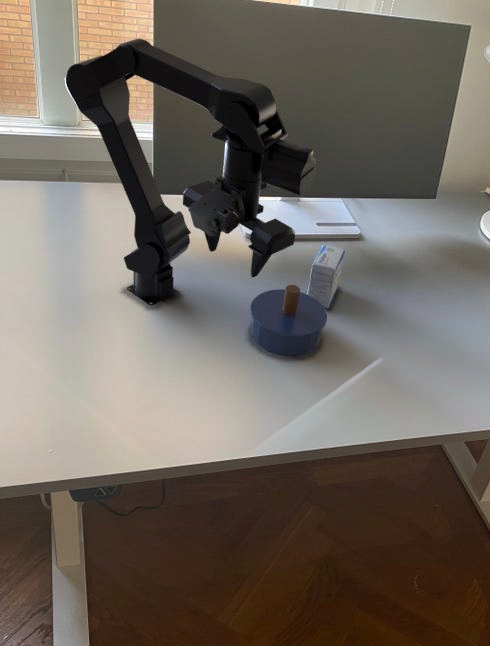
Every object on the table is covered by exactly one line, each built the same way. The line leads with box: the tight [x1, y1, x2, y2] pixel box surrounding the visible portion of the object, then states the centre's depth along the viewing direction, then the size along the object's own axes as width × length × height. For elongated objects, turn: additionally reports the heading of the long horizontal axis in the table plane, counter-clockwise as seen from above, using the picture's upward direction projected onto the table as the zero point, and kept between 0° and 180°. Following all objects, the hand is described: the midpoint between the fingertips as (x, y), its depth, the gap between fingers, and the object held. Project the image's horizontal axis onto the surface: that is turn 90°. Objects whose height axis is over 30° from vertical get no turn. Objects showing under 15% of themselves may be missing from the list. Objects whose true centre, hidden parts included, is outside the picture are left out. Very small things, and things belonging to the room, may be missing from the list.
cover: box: [249, 284, 328, 337], centre depth 118 cm, size 13×13×6 cm
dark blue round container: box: [250, 318, 323, 357], centre depth 121 cm, size 12×12×5 cm
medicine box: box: [306, 244, 346, 309], centre depth 132 cm, size 8×4×9 cm, turn 169°
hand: (233, 263), depth 115 cm, fingers open, 9 cm apart
